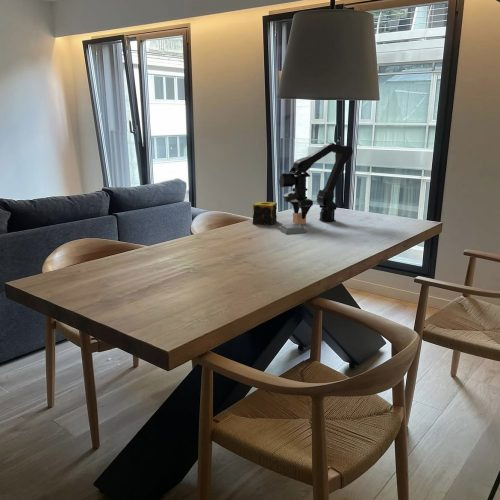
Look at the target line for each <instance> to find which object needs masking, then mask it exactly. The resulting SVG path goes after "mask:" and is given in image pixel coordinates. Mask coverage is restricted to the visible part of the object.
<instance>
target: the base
mask: <svg viewBox="0 0 500 500" xmlns="http://www.w3.org/2000/svg"><path fill="white" fill-rule="evenodd" d="M277 229H278V231H280V232H282V233H283V234H285V235H292V234H293V235H294V234H306V233H307V229H306V228H304V226H302V225H301V224H294V223H287V224H280V225H279V226H277Z"/></svg>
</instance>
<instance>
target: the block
mask: <svg viewBox="0 0 500 500" xmlns="http://www.w3.org/2000/svg"><path fill="white" fill-rule="evenodd" d="M292 224H299V225H306V224H307V216H306V217H305V219H302V214H301V212H298V213H294V212H293V213H292Z"/></svg>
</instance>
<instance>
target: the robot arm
mask: <svg viewBox="0 0 500 500" xmlns="http://www.w3.org/2000/svg"><path fill="white" fill-rule="evenodd" d="M331 152H332V153H334V156H335V157H334V158H335V160H334V164H333V165H332V169H331V171H330V173H329V176H328V179H327V181H326V184H325V186H324V188H323V189H319V190H318V193H317V195H316V202H317V205H319V208H321V209H320V212H319V219H318V220H319V221H320V222H323V223H329V222H336V221H337V220H336V219H335V215H336V214H335V211H336V210H337V208H338V204H336V203H335V202H334V198H335V194H334V193H335V189H336V186H337V184H338V181H339V179H340V176H341V174H342V171H343V169H344V166H345V165H346V164H347V162H348V161H349V160H350V159H351V157H352V156H353V153H354V150H353V147H351V146H350V145H344V144H343V145H342V144H341V145H340V144H336V143H334V142H327V143H325V145H323V146H321V147H320V148H318V149H317V150H315V151H314V152H312V153H311V154H309V155H307V156H305V157H302V158H299V159H296V160H295V161H294V162H293V165H292V167H291V169H290V170H289V171H288V172H287V173H285V172H281V173H280V176H279V179H278V185H279V187H280V188H292V187H293V188H292V191H288V192H286V193H284V194H283V195H282V197H283V200H284V202H285V203H290V204H291V206H292V208H293V211H294V212H293V213H301V214H302V219H305V217H306V218H307V214H308V212H309V211H310V209H311V207H312V206H314V201H313V200H312V199H310V198H308V196H307V192H308V188H307V178H310V177H311V175H310V173H308V170H310V169H311V168H312V166H313V165H314V164H315V163H316V162H318V161H320V160H321V159H322V158H324V157H326V156H327V155H328V154H330V153H331ZM299 211H300V212H299Z"/></svg>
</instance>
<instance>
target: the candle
mask: <svg viewBox="0 0 500 500" xmlns="http://www.w3.org/2000/svg"><path fill="white" fill-rule="evenodd" d="M277 206H278V204H277V202H275V201H274V202H272V201H257V202H255V203H253V204H252V210H253V214H252V225H264V226H272V225H274V224H275V223H276V222H277V217H278V216H277V209H278V208H277Z"/></svg>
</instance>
